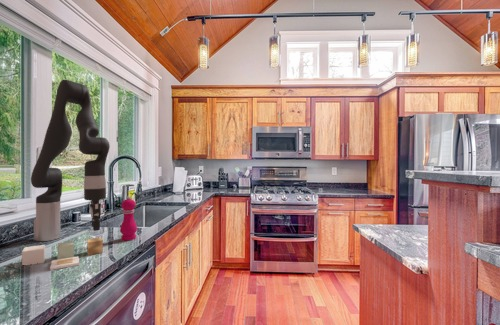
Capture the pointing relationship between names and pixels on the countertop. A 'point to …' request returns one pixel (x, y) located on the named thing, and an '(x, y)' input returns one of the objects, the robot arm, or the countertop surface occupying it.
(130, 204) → the pepper mill
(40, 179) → the robot arm
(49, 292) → the countertop surface
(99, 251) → the maple block
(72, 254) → the sage block
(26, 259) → the base block
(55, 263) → the tile
